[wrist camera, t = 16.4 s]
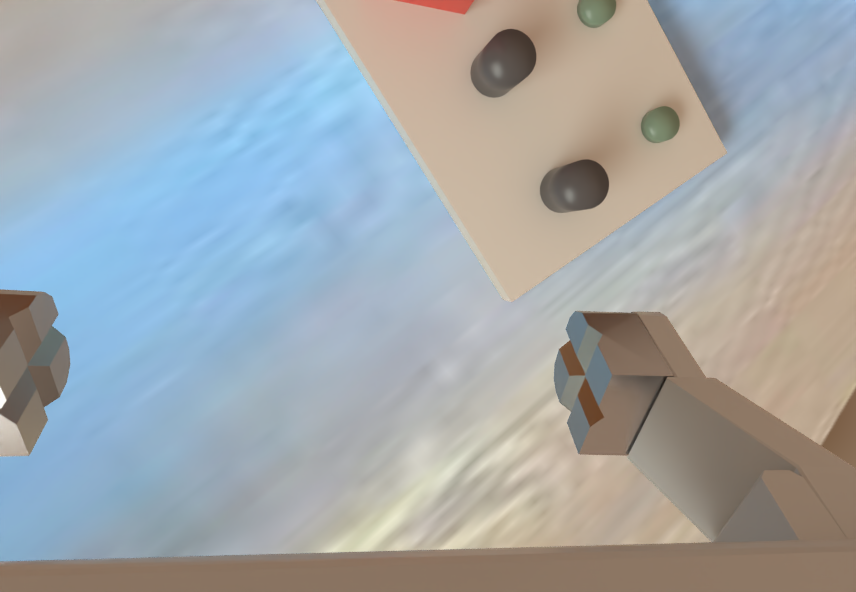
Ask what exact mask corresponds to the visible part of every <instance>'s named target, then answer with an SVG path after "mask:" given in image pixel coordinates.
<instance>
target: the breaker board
mask: <svg viewBox="0 0 856 592" xmlns="http://www.w3.org/2000/svg"><path fill="white" fill-rule="evenodd" d="M316 1H317V3H318V5H319V6H320V8H321V9H322V11H323V13H324V14H325V16H326V17H327V19H328V21H329V22H330V24H331V25H332V27H333V29H334V30H335V32H336V33H337V35H338V37H339V38H340V40H341V41H342V43H343V45H344V46H345V48H346V49H347V51H348V53H349V54H350V56H351V57H352V59H353V61H354V62H355V64H356V65H357V67H358V69H359V70H360V72H361V73H362V75H363V77H364V78H365V80H366V81H367V83H368V85H369V86H370V88H371V89H372V91H373V93H374V94H375V96H376V97H377V99H378V101H379V102H380V104H381V105H382V107H383V109H384V110H385V112H386V113H387V115H388V117H389V118H390V120H391V121H392V123H393V125H394V126H395V128H396V129H397V131H398V133H399V134H400V136H401V137H402V139H403V141H404V142H405V144H406V145H407V147H408V149H409V150H410V152H411V153H412V155H413V157H414V158H415V160H416V161H417V163H418V165H419V166H420V168H421V169H422V171H423V173H424V174H425V176H426V177H427V179H428V181H429V182H430V184H431V185H432V187H433V189H434V190H435V192H436V193H437V195H438V197H439V198H440V200H441V201H442V203H443V205H444V206H445V208H446V209H447V211H448V213H449V214H450V216H451V217H452V219H453V221H454V222H455V224H456V225H457V227H458V229H459V230H460V232H461V233H462V235H463V237H464V238H465V240H466V241H467V243H468V245H469V246H470V248H471V249H472V251H473V253H474V254H475V256H476V257H477V259H478V261H479V262H480V264H481V265H482V267H483V269H484V270H485V272H486V273H487V275H488V277H489V278H490V280H491V281H492V283H493V285H494V286H495V288H496V289H497V291H498V293H499V294H500V296H501V297H502V299H503V300H505V301H509V302H513V301H514V300H516V299H517V298H519V297H520V296H521V295H523V294H524V293H526V292H527V291H529V290H530V289H532V288H533V287H534V286H536V285H537V284H539V283H540V282H542V281H543V280H545V279H546V278H547V277H549V276H550V275H552V274H553V273H555V272H556V271H557V270H559V269H560V268H562V267H563V266H565V265H566V264H568V263H569V262H570V261H572V260H573V259H575V258H576V257H578V256H579V255H581V254H582V253H583V252H585V251H586V250H588V249H589V248H591V247H592V246H594V245H595V244H596V243H598V242H599V241H601V240H602V239H604V238H605V237H607V236H608V235H609V234H611V233H612V232H614V231H615V230H617V229H618V228H620V227H621V226H622V225H624V224H625V223H627V222H628V221H630V220H631V219H633V218H634V217H635V216H637V215H638V214H640V213H641V212H643V211H644V210H646V209H647V208H648V207H650V206H651V205H653V204H654V203H656V202H657V201H659V200H660V199H661V198H663V197H664V196H666V195H667V194H669V193H670V192H672V191H673V190H674V189H676V188H677V187H679V186H680V185H682V184H683V183H685V182H686V181H687V180H689V179H690V178H692V177H693V176H695V175H696V174H697V173H699V172H700V171H702V170H703V169H705V168H706V167H708V166H709V165H710V164H712V163H713V162H715V161H716V160H718V159H719V158H721V157H722V156H723V155H725V154H726V153H727V151H726V149H725V148H724V146H723V144H722V142H721V140H720V138H719V136H718V134H717V132H716V130H715V129H714V127H713V125H712V123H711V121H710V119H709V117H708V115H707V113H706V111H705V109H704V108H703V106H702V104H701V102H700V100H699V98H698V96H697V94H696V92H695V90H694V89H693V87H692V85H691V83H690V81H689V79H688V77H687V75H686V73H685V71H684V70H683V68H682V66H681V64H680V62H679V60H678V58H677V56H676V54H675V52H674V50H673V49H672V47H671V45H670V43H669V41H668V39H667V37H666V35H665V33H664V31H663V30H662V28H661V26H660V24H659V22H658V20H657V18H656V16H655V14H654V12H653V10H652V9H651V7H650V5H649V3H648V1H647V0H474V1H473V3H472V4H471V6H470V7H469V9H468V10H467V12H466V13H465V15H464V14H460V13H455V12H450V11H445V10H440V9H435V8H430V7H425V6H420V5H415V4H410V3H405V2H400V1H395V0H316Z"/></svg>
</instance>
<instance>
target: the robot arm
mask: <svg viewBox="0 0 856 592" xmlns="http://www.w3.org/2000/svg"><path fill="white" fill-rule="evenodd" d="M57 316H58V311H57V309H56V306H55V303H54V300H53V298H52V296H50V295H49V294H47V293H45V292H36V291H18V290H0V456H29V455H30V453H31V451H32V450H33V448H34V446H35V444H36V442H37V440H38V438H39V436H40V434H41V432H42V430H43V428H44V426H45V425H46V423H47V421H48V418H47V416H46V413H45V410H44V407H45V406H47V405H48V404H50V403H51V402H53V401H54V400H56V399H57V398H59V397H60V395H61V393H62V391H63V389H64V387H65V385H66V383H67V378H68V373H69V368H70V354H69V347H68V344H67V340H66V337H65V336H64V335H63V334H61V333H60V332H59V331H58V330H56V329H55V328H54V327H53V326H52V324H53V323H54V321H55V319H56V317H57ZM566 331H567V334H568V336H569V339H570V341H569V342H567V343H566V344H565V345H564V346H562V347H561V348H560V349H559V351H558V354H557V358H556V361H555V368H554V383H555V389H556V393H557V396H558V399H559V402H560V403H561V404H562V405H564V406H565V407H566V408H567V409H568V410H570V411H571V414H570V416H569V419H568V422H567V424H568V427H569V429H570V432H571V435H572V437H573V440H574V443H575V445H576V448H577V451H578V453H579V454H588V455H628V457H627V458H628V459H629V460H630V461H631V462H632V463H633V464H634V465H635V466H636V467H637V468H638V469H639V470H640V471H641V472H642V473H643V474H644V475H645V476H646V477H647V478H648V479H649V480H650V481H651V482H652V483H653V484H654V485H655V486H656V487H657V488H658V489H659V490H660V491H661V492H662V493H663V494H664V495H665V496H666V497H667V498H668V499H669V500H670V501H671V502H672V503H673V504H674V505H675V506H676V507H677V508H678V509H679V510H680V511H681V512H682V513H683V514H684V515H685V516H686V517H687V518H688V519H689V520H690V521H691V522H692V523H693V524H694V525H695V526H696V527H697V528H698V529H699V530H700V531H701V532H702V533H703V534H704V535H705V536H706V537H707V538H708V539H709V540H710V541H711V542H709V543H671V544H633V545H595V546H558V547H522V548H486V549H450V550H414V551H376V552H338V553H300V554H262V555H224V556H186V557H148V558H111V559H74V560H36V561H0V592H856V468H855V467H853V466H851V465H850V464H848V463H847V462H845V461H844V460H842V459H841V458H839V457H837V456H836V455H834V454H833V453H831V452H829V451H828V450H826V449H825V448H823V447H822V446H820V445H819V444H817V443H816V442H814V441H812V440H811V439H809V438H808V437H806V436H805V435H803V434H801V433H800V432H798V431H797V430H795V429H794V428H792V427H791V426H789V425H787V424H786V423H784V422H783V421H781V420H780V419H778V418H777V417H775V416H773V415H772V414H770V413H769V412H767V411H766V410H764V409H762V408H761V407H759V406H758V405H756V404H755V403H753V402H752V401H750V400H748V399H747V398H745V397H744V396H742V395H741V394H739V393H737V392H736V391H734V390H733V389H731V388H730V387H728V386H727V385H725V384H723V383H722V382H720V381H719V380H717V379H716V378H706V376H705V375H704V373H703V372H702V370H701V369H700V367H699V366H698V364H697V363H696V361H695V360H694V358H693V357H692V355H691V353H690V352H689V350H688V349H687V347H686V346H685V344H684V343H683V341H682V340H681V338H680V337H679V335H678V333H677V332H676V330H675V329H674V327H673V326H672V324H671V323H670V321H669V320H668V318H667V317H666V316H665V315H664V314H662V313H660V312H631V313H624V312H591V311H575V312H574V313H573V314H572V316H571V317H570V319H569V322H568V324H567V327H566Z"/></svg>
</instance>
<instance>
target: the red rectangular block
mask: <svg viewBox="0 0 856 592" xmlns="http://www.w3.org/2000/svg"><path fill="white" fill-rule="evenodd" d="M395 1H400V2H405V3H410V4H415V5H420V6H425V7H430V8H435V9H440V10H445V11H450V12H455V13H460V14H464V15H465V13H466V12H467V10H468V9H469V7H470V6H471V4H472V3H473V1H474V0H395Z"/></svg>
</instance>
